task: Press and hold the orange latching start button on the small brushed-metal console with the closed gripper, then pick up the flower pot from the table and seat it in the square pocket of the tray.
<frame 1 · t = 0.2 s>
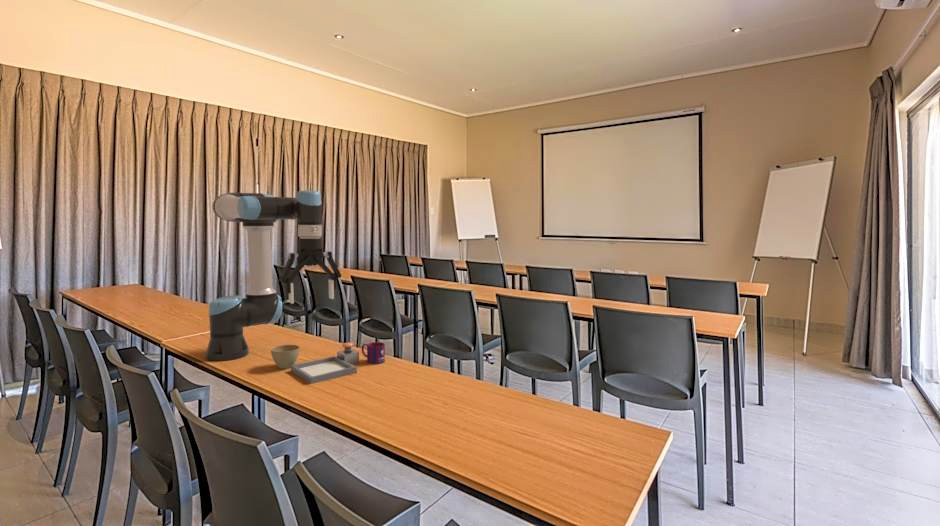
hand: (311, 300, 156), 28 cm above the table, fingers open, 13 cm apart
cup 2: (373, 361, 180), on the table
tray: (323, 371, 167), on the table
console: (348, 361, 178), on the table
flower pot: (286, 367, 172), on the table
start button: (347, 348, 178), point 5 cm above the table, slide at 0.0 cm
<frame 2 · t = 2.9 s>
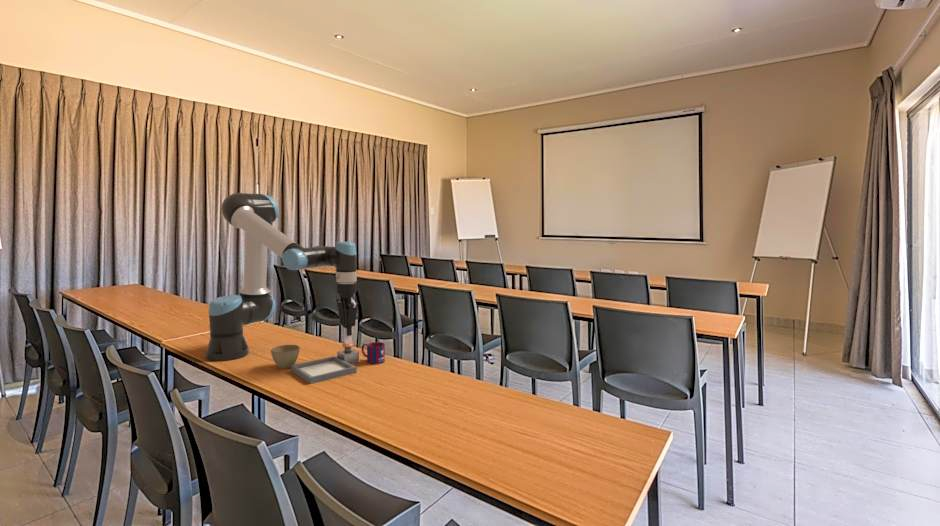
hand: (347, 343, 177), 7 cm above the table, fingers closed
start button: (347, 348, 178), point 5 cm above the table, slide at 0.0 cm, touching gripper
everything else where it was.
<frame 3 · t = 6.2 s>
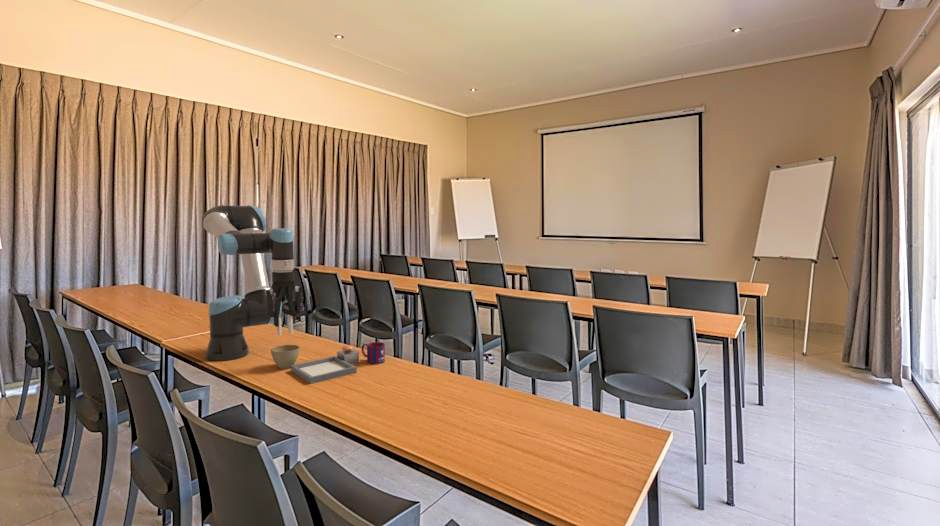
hand: (285, 333, 171), 13 cm above the table, fingers open, 3 cm apart
start button: (347, 351, 178), point 4 cm above the table, slide at 1.2 cm
everything else where it was.
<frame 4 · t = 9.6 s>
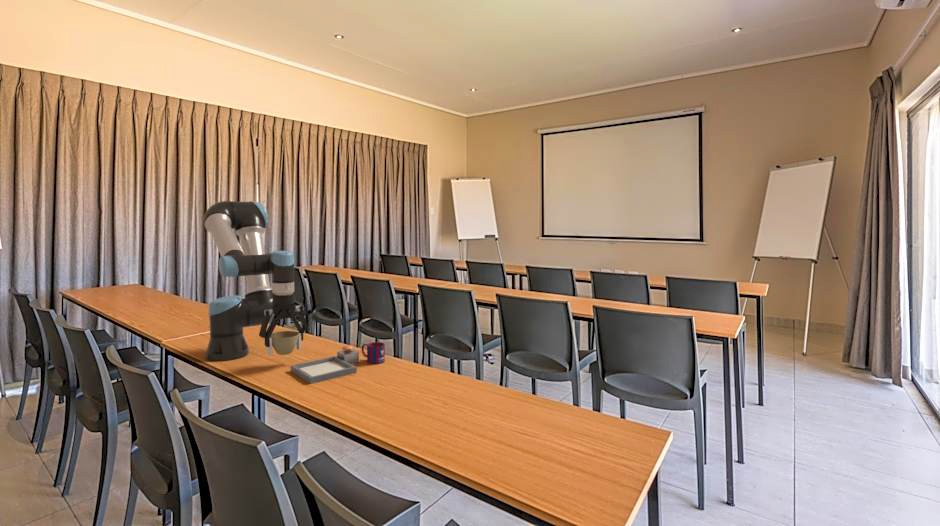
hand: (284, 352, 172), 5 cm above the table, fingers closed on flower pot, 10 cm apart
flower pot: (284, 353, 172), point 5 cm above the table, touching gripper
everything else where it was.
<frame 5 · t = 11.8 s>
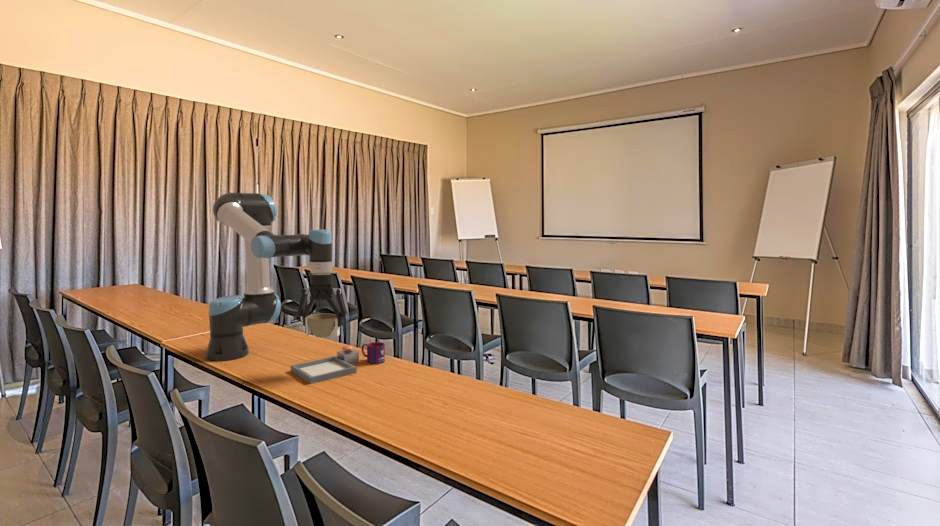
hand: (322, 335, 165), 14 cm above the table, fingers closed on flower pot, 10 cm apart
flower pot: (322, 336, 165), point 13 cm above the table, touching gripper
everything else where it was.
when the fingers open (3 cm above the table, at t = 14.1 s): flower pot drops 2 cm, resting on tray.
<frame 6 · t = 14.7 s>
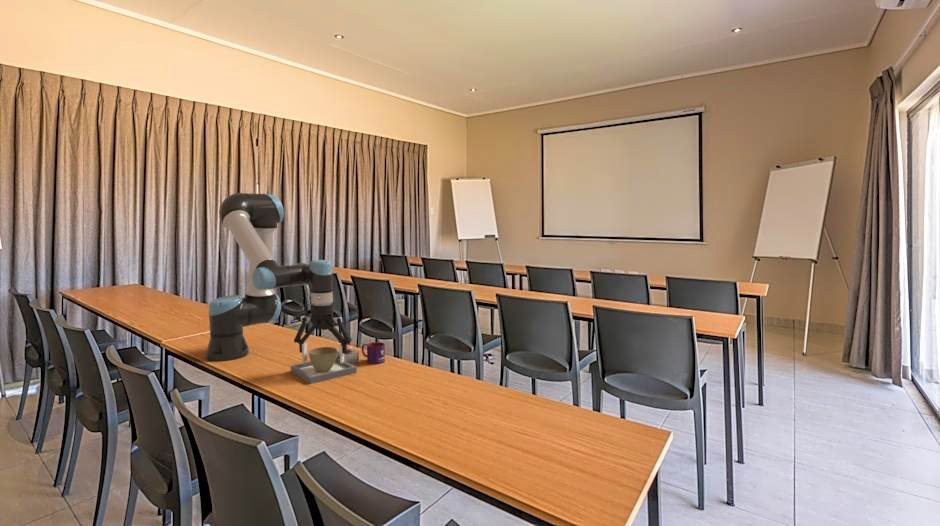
hand: (323, 361, 166), 4 cm above the table, fingers open, 13 cm apart
flower pot: (323, 370, 167), point 1 cm above the table, touching tray
everything else where it was.
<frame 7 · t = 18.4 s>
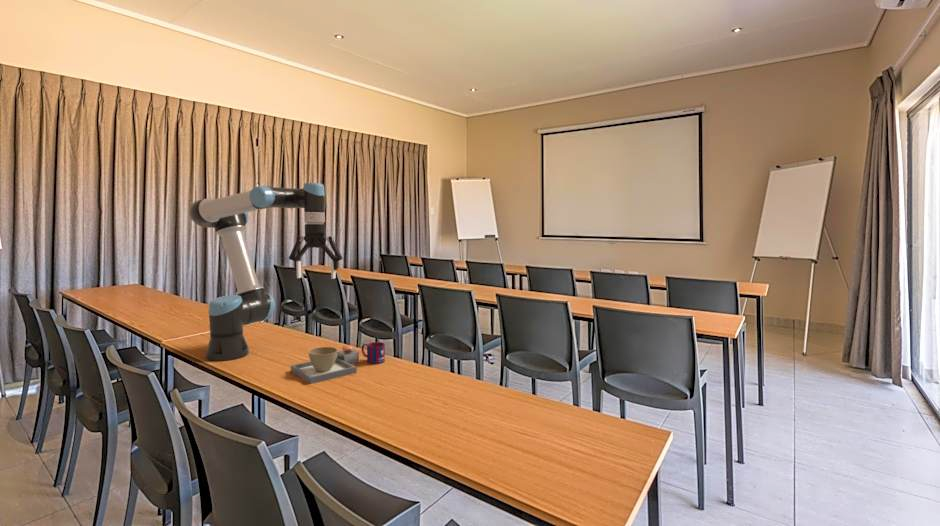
hand: (316, 278, 180), 32 cm above the table, fingers open, 13 cm apart
nothing on the table moved.
at the end: flower pot 0.0 cm from the tray (horizontally); flower pot tilted 0°; start button slide at 1.2 cm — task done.
